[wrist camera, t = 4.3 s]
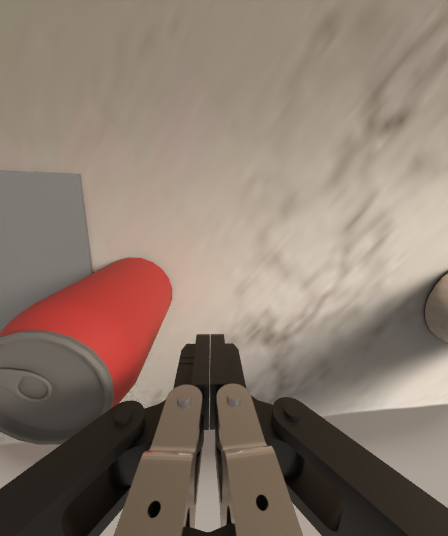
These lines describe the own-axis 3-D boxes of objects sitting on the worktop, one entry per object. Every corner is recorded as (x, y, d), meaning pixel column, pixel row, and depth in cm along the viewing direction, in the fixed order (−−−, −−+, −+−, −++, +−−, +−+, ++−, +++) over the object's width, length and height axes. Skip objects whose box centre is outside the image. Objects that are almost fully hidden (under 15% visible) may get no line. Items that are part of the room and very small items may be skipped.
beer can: (120, 242, 19) (-23, 290, 7) (186, 277, 20) (151, 366, 8) (91, 301, 20) (-71, 422, 9) (154, 331, 21) (87, 473, 10)
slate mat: (80, 174, 17) (77, 173, 17) (106, 378, 22) (104, 381, 22) (-80, 167, 17) (-87, 166, 16) (-15, 380, 22) (-19, 383, 21)
